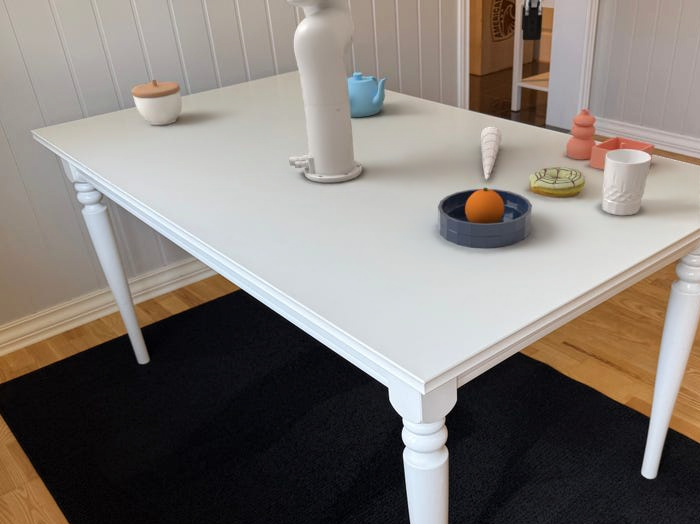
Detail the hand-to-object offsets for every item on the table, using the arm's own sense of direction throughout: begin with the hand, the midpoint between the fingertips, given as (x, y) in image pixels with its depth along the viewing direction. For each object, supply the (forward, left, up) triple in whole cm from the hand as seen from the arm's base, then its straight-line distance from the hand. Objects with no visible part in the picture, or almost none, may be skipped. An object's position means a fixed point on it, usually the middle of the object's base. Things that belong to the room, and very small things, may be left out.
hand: (530, 34), depth 127 cm
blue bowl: (-13, -24, -28) cm, 39 cm away
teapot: (-31, +59, -28) cm, 72 cm away
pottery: (+20, +7, -28) cm, 35 cm away
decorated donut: (+5, -8, -28) cm, 29 cm away
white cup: (+14, -19, -28) cm, 37 cm away
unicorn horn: (-4, +12, -28) cm, 30 cm away
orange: (-13, -24, -27) cm, 39 cm away
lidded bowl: (-85, +64, -28) cm, 110 cm away
